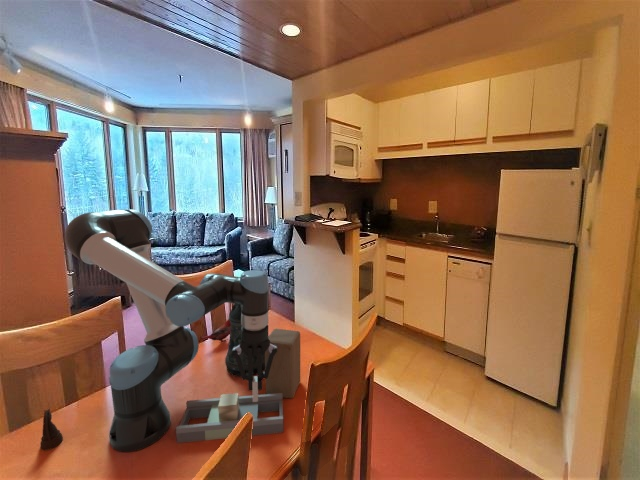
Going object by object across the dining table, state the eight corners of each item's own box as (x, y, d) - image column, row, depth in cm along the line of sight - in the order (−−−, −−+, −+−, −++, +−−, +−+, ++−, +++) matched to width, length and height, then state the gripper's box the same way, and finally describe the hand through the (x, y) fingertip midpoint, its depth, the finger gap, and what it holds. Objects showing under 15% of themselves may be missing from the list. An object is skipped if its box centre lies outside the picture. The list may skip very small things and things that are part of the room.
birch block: (219, 421, 88) (218, 406, 87) (222, 409, 93) (221, 394, 92) (237, 420, 89) (236, 404, 88) (239, 407, 94) (238, 393, 93)
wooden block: (293, 400, 102) (293, 344, 98) (264, 395, 103) (263, 341, 100) (301, 381, 111) (301, 330, 107) (274, 377, 113) (273, 327, 109)
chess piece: (64, 433, 87) (59, 402, 85) (61, 446, 83) (55, 414, 81) (42, 440, 85) (36, 408, 83) (38, 454, 80) (32, 421, 79)
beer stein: (253, 382, 110) (251, 317, 106) (210, 369, 117) (206, 308, 113) (276, 358, 125) (275, 300, 121) (236, 348, 133) (234, 293, 128)
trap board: (177, 442, 84) (175, 428, 84) (188, 413, 95) (187, 400, 94) (283, 432, 88) (283, 418, 88) (282, 405, 99) (282, 392, 98)
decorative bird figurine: (238, 337, 142) (237, 317, 140) (202, 353, 129) (201, 330, 127) (234, 335, 144) (233, 315, 142) (198, 350, 130) (197, 328, 129)
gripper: (229, 332, 82) (231, 409, 87) (278, 330, 84) (277, 406, 89) (233, 319, 90) (234, 391, 94) (278, 318, 92) (277, 388, 96)
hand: (255, 398), depth 92 cm, fingers closed
